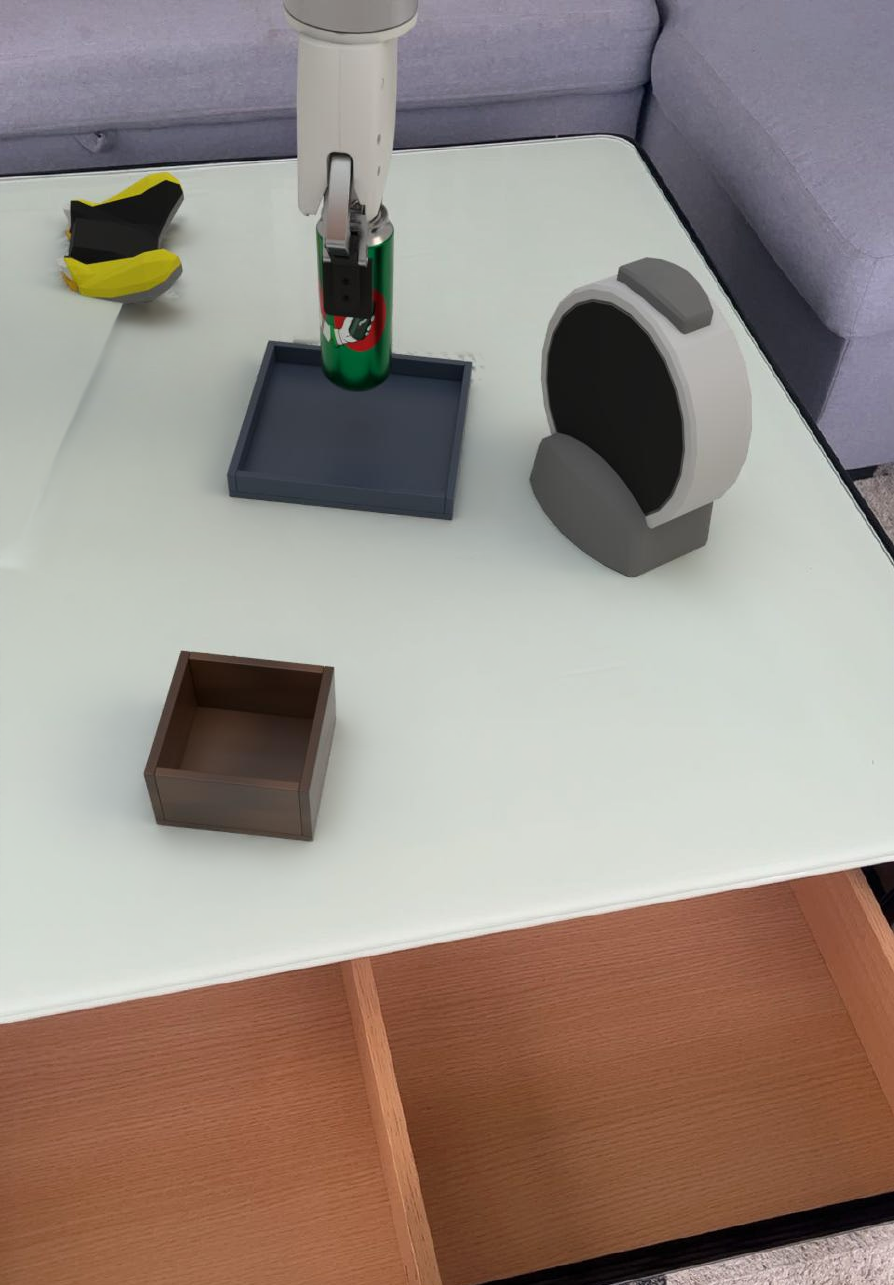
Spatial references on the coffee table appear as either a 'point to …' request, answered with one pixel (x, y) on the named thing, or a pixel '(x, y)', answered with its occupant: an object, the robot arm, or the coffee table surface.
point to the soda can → (353, 344)
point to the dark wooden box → (243, 745)
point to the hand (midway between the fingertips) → (354, 287)
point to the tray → (353, 435)
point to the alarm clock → (640, 416)
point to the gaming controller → (124, 242)
